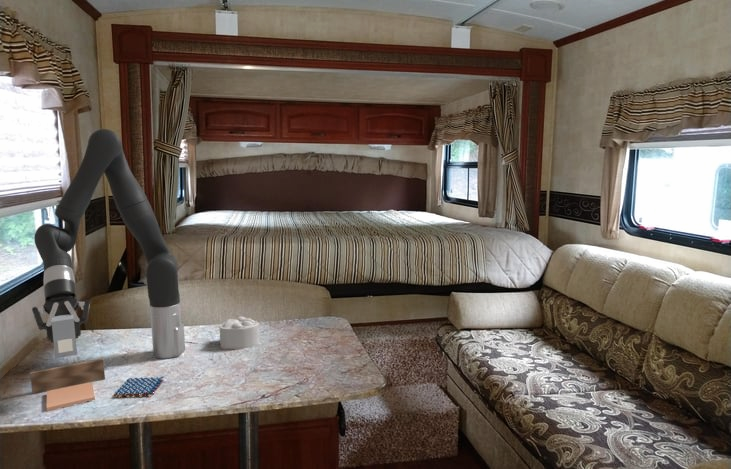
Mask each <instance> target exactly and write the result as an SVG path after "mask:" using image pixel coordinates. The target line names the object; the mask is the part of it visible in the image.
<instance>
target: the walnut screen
mask: <svg viewBox="0 0 731 469" xmlns="http://www.w3.org/2000/svg"><path fill="white" fill-rule="evenodd" d="M29 375H30V383H31V384H30V385H31V392H32V393H31V394H32V395H35V394H40V393H45V392H46V393H47V391H50V390H55V389H60V388H64V387H69V386H74V385H79V384H83V383H88V382H92V383H93V382H99V381H103V380H106V374H105V364H104V358H97V359H93V360H88V361H83V362H76V363H72V364H67V365H61V366H57V367H52V368H45V369H40V370H35V371H31V372H29Z"/></svg>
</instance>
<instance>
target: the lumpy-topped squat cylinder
mask: <svg viewBox="0 0 731 469" xmlns="http://www.w3.org/2000/svg"><path fill="white" fill-rule="evenodd" d="M260 341H261V339H260V323H259V322H258V321H257V320H253V319H252V318H250V317H248V318H247V317H245V316H238V317H236V318H228V319H225V321H223V322H222V324H221V325H220V326H219V342H220V344H219V345H220V349H224V350H242V349H243V350H244V349H248V348H253V347H255V346H256V347H257V346H258V345H259V344H260Z"/></svg>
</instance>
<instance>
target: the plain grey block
mask: <svg viewBox="0 0 731 469" xmlns="http://www.w3.org/2000/svg"><path fill="white" fill-rule="evenodd" d="M52 331H53V341H54V342H53V348H54V358H55V359H60V358H65V357H72V356H76V355H78V349H77V340H76V339H77V338H76V337H75V327H74V317H73V315H70V314H67V315H60V316H55V317H54V318H52Z"/></svg>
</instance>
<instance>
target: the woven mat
mask: <svg viewBox="0 0 731 469" xmlns="http://www.w3.org/2000/svg"><path fill="white" fill-rule="evenodd" d="M164 381H165V380H164V376H161V377H160V376H156V377H153V376H151V377H147V376H146V377H143V376H142V377H129V378H127V379H126V381H124V383H123V384H121V386H120V387H119V388H117V391H115V392H114V394H113V396H114V397H117V398H118V399H121V398H123V397H124V396H126V398H128V397H129V398H131V397H132V396H134V397H136V396H138V398H143V397H144V396H146V395H147V396H146V397H149V398H150V396H151V395H154V394H155V392H156V391H157V390H158V389H159V387H160V386H161V384H162V383H163V382H164ZM153 392H154V393H153ZM139 394H140V395H139ZM142 396H143V397H142ZM120 397H121V398H120ZM151 397H152V396H151Z"/></svg>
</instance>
